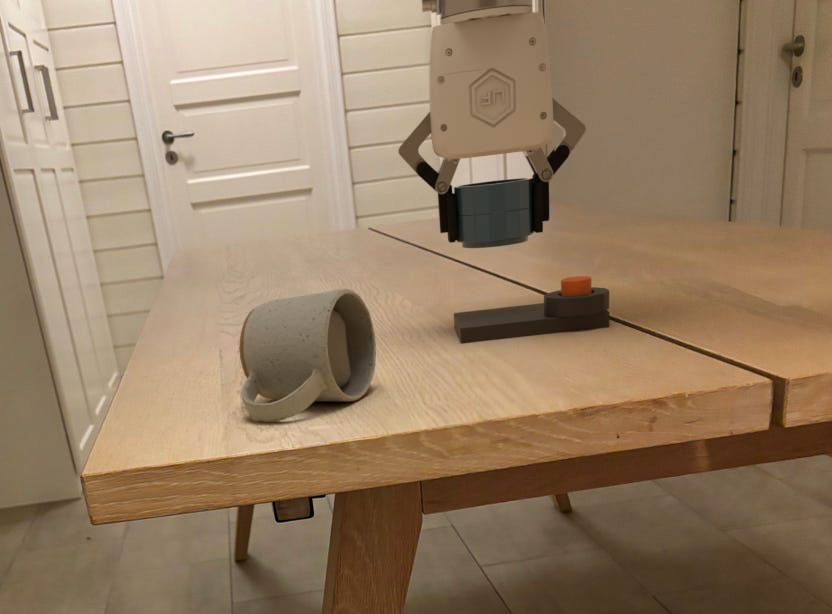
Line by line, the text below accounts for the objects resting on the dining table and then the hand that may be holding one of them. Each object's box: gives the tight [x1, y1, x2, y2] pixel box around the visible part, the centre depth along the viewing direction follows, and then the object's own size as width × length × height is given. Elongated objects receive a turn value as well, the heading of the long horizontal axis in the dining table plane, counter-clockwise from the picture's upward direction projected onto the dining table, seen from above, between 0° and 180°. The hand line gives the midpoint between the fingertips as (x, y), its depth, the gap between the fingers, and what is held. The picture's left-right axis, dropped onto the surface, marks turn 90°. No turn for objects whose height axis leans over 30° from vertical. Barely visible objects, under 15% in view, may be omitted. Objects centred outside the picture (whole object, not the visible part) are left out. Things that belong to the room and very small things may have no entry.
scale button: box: [560, 275, 592, 296], centre depth 85 cm, size 3×3×2 cm
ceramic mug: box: [238, 288, 377, 423], centre depth 69 cm, size 11×8×8 cm
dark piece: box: [453, 286, 610, 345], centre depth 88 cm, size 13×10×3 cm
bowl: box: [452, 177, 535, 249], centre depth 85 cm, size 7×7×5 cm
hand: (494, 234), depth 86 cm, fingers closed on bowl, 6 cm apart
